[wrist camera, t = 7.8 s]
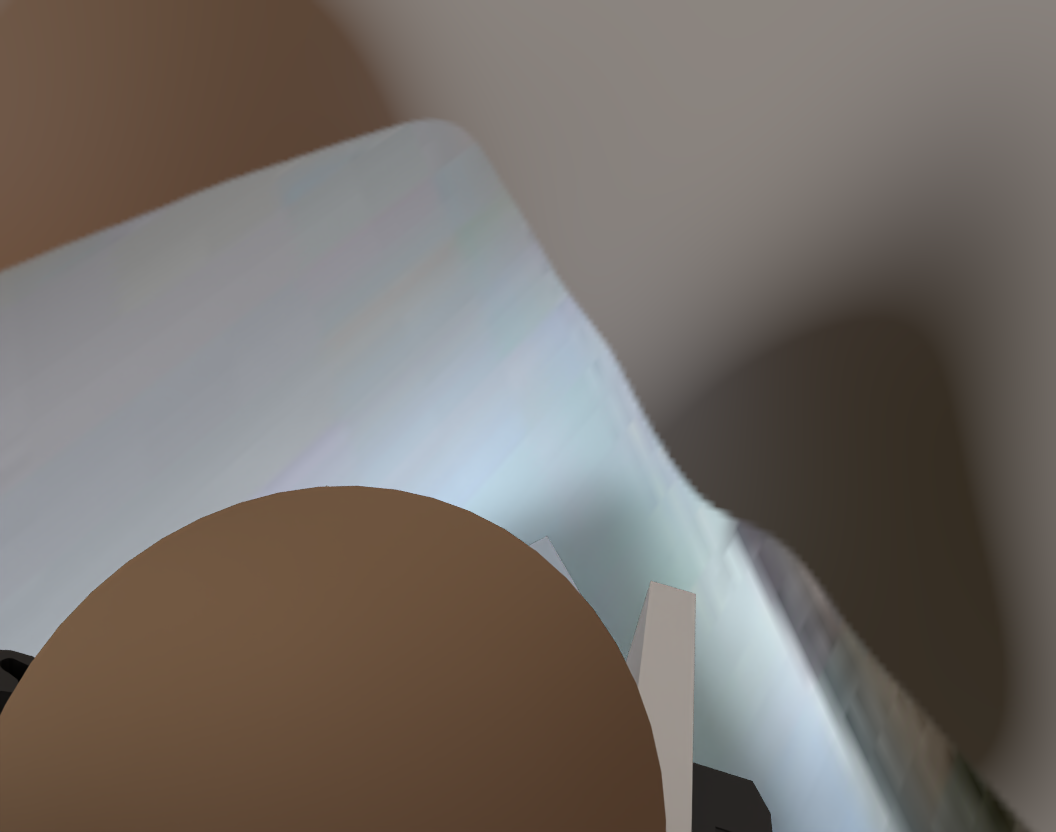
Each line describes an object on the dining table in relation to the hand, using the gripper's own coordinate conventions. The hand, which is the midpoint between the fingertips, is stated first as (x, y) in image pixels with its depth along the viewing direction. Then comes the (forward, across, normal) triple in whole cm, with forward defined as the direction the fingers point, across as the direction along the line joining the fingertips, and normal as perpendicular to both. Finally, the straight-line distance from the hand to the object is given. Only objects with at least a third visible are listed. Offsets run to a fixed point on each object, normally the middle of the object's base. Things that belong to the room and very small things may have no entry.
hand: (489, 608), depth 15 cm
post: (0, 0, -5) cm, 5 cm away
